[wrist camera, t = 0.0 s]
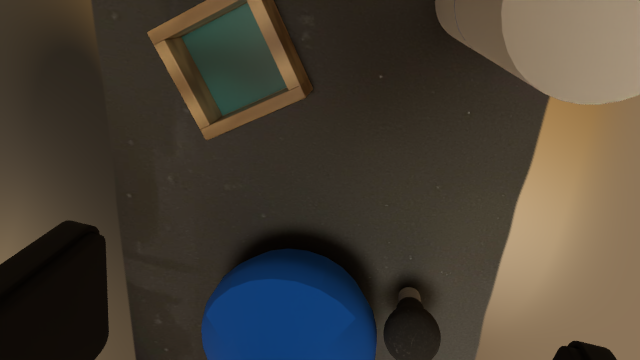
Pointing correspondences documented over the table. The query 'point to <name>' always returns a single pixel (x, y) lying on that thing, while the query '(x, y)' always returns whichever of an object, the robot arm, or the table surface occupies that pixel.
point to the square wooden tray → (231, 62)
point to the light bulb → (411, 329)
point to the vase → (288, 311)
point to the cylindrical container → (555, 43)
